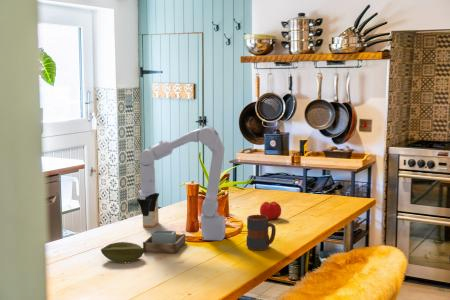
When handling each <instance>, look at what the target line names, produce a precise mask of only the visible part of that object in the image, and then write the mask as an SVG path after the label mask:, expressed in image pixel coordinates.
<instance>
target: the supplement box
mask: <svg viewBox="0 0 450 300" xmlns="http://www.w3.org/2000/svg"><path fill="white" fill-rule="evenodd" d="M159 221H160V220H159V198H158V199H157V202H156V207H155V211H154V212H149V216H143V215H142V228H143V227H144V228H153V227H155V226H156V225H158V223H159Z"/></svg>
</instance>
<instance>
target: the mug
mask: <svg viewBox="0 0 450 300" xmlns="http://www.w3.org/2000/svg"><path fill="white" fill-rule="evenodd" d="M246 220H247V221H246V229H247V230H246V231H247V235H246V247H247V249H249V250H250V251H251V250H252V251H266V250H268V249H269V247H270V245H271V244H273V242H274V240H275V239H276V238H275V236H276V232H277V230H276V226H275V224H274V223H272V222H269V220H268V217H267V216H265V215H261V214H252V215H251V214H250V215H248V216H247V218H246ZM269 228H271V232H270V233H271V234H269Z"/></svg>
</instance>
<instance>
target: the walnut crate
mask: <svg viewBox="0 0 450 300" xmlns="http://www.w3.org/2000/svg"><path fill="white" fill-rule="evenodd" d="M185 245H186V233H182V234H181V233H179V234H177V233H176V243H173V244H164V243H152V235H151V236H150V237H148V238H147V239H146V240H145V241H143V242H142V248H144V250H143V251H144V253H145V254H146V253H148V254H150V253H151V254H152V253H153V254H169V255H176V254H177V253H178V252H179V251H180V250H181V249H182V248H183V247H184V246H185Z"/></svg>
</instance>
